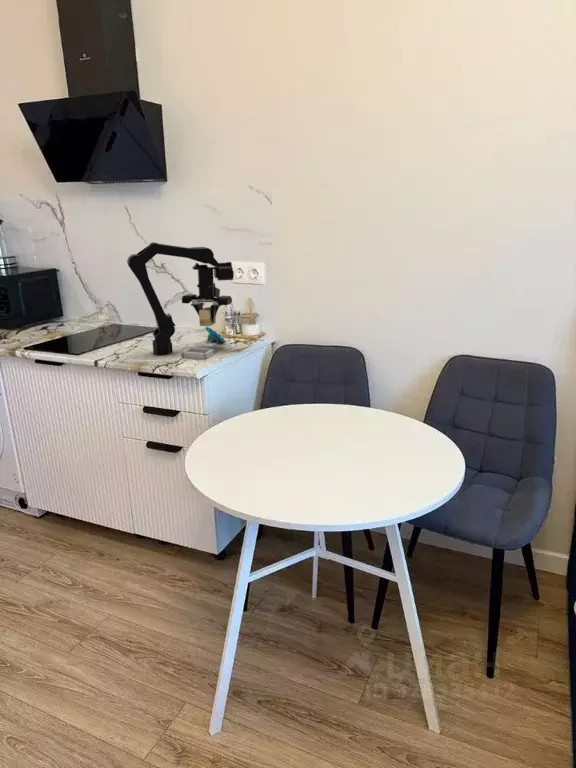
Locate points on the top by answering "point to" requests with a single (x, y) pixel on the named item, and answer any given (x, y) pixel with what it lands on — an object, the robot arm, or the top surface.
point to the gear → (213, 335)
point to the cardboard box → (206, 317)
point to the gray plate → (200, 352)
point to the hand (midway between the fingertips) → (207, 321)
